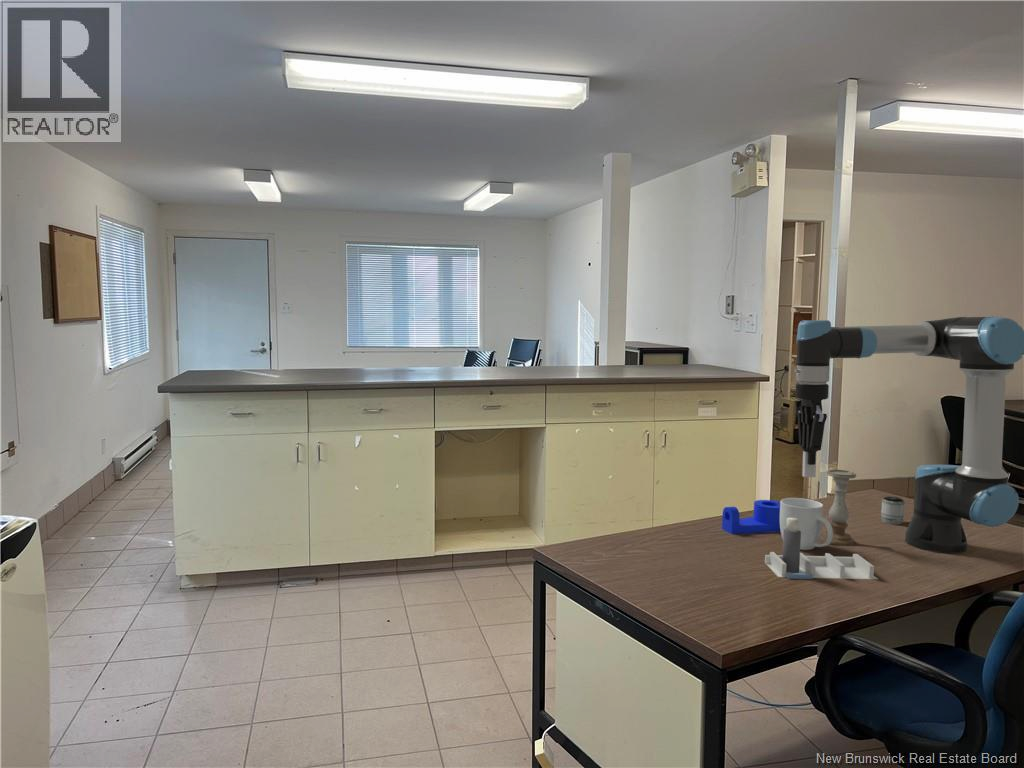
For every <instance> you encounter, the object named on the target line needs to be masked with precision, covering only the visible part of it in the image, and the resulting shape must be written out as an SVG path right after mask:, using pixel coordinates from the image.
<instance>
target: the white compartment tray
mask: <svg viewBox="0 0 1024 768" xmlns="http://www.w3.org/2000/svg"><path fill="white" fill-rule="evenodd" d="M764 556H765V557H764V564H766V566H767V567H768V568H769V569H770V570H771V571H772V572H773V573H774V574H775V575H776V576H777V578H786V579H791V580H792V579H795V580H796V579H797V580H813V579H842V580H843V579H844V580H845V579H847V580H849V579H850V580H852V579H853V580H879V578H877V577H876V576H875V575H874V573H875V565H873V564H872V563H870V561H867V560H866V559H864V558H863V556H860V554H858V553H852V556H833V555H832V554H831V553H829V552H828V553H827V552H825V554H824V555H822V556H821V555H805V554H804V553H803V552H800V565H799V572H797V573H790V572H786V565H787V564H786V563H785V562H784V561H783V560H782V558H783V554H780V555H779V554H778V555H777V554H776V553H775V552H774V551H770V552H769V554H764Z"/></svg>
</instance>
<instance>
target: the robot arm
mask: <svg viewBox="0 0 1024 768" xmlns="http://www.w3.org/2000/svg"><path fill="white" fill-rule="evenodd" d="M910 353H911V354H912V353H913V354H915V355H916V356H919V357H936V358H941V359H950V360H956V361H959V370H960V371H961V372H963V374H964V375H965V391H964V392H965V394H964V412H963V413H964V416H963V417H964V418H963V437H962V438H963V439H962V460H961V461H962V462H961V465H954V464H922V465H919V466H918V467H917V468H916V474H915V477H914V495H913V496H914V498H913V499H914V500H913V515H912V517H911V520H910V521H909V524H908V526H907V527H906V530H905V533H904V541H905V542H906V543H907V544H909V545H911V546H913V547H916V548H918V549H923V550H927V551H931V552H935V553H936V552H937V553H945V554H946V553H947V554H955V553H956V554H957V553H958V554H959V553H964V552H966V551H967V549H968V539H967V536H966V533H965V531H964V527H963V523H962V519H964V520H966V521H969V522H972V523H974V524H977V525H982V526H985V527H992V528H993V527H999V526H1002V525H1004V524H1006V523H1008V522H1009V521H1010V519H1012V518H1013V517H1014V516H1015V514H1016V512H1017V510H1018V507H1019V502H1020V498H1019V494H1018V492H1017V491H1016V489H1015V488H1013V486H1011V485H1010V484H1009V474H1008V472H1006V471H1005V470H1004V469H1003V468H1002V464H1003V463H1002V462H1003V445H1004V444H1003V443H1004V426H1005V422H1004V421H1005V406H1006V405H1005V403H1006V402H1005V401H1006V385H1007V384H1006V383H1007V382H1006V381H1007V376H1008V375H1009V374H1011V372H1013V371H1014V369H1015V363H1017V362H1019V361H1021V359H1022V358H1023V355H1024V329H1023V327H1022V325H1020V324H1018V322H1017V321H1016V320H1014V319H1012V318H1010V317H1009V318H1007V317H1002V316H957V317H950V318H944V319H943V318H942V319H935V320H934V319H933V320H923V321H922V320H920V321H917V322H916V323H915V324H905V325H904V324H903V325H898V324H897V325H896V324H895V325H866V326H864V325H859V326H858V325H857V326H854V325H853V326H851V325H850V326H832V322H831V321H830V320H826V319H825V320H824V319H821V320H820V319H819V320H817V319H815V320H804V319H803V320H801V321H800V322H799V323H798V326H797V334H796V369H794V373H795V375H796V376H795V380H796V382H797V383H795V390H794V391H795V392H794V393H795V394H794V395H795V398H797V399H799V400H801V402H800V406H799V407H796V410H795V411H796V415H797V425H798V426H797V427H798V442H799V443H798V444H799V446H800V447H801V449H802V475H801V476H802V477H803V478H816V476H817V475H816V473H817V452H819V451H821V450H822V444H823V439H824V432H825V424H826V420H827V418H828V415H827V413H823V406H822V401H823V400H827V399H829V390H830V389H829V388H830V386H829V384H828V382H829V381H830V369H831V366H830V362H831V359H863V358H864V359H865V358H870V357H872V356H873V355H875V354H877V355H879V354H910Z"/></svg>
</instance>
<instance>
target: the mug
mask: <svg viewBox="0 0 1024 768" xmlns="http://www.w3.org/2000/svg"><path fill="white" fill-rule="evenodd" d="M779 502H780V530H781V531H780V535H781V539H782V540H783V534H784V529H786V524H787V518H797V519H799V528H798V530H799V531H801V543H800V551H801V550H803V551H806V550H807V551H810V550H813V549H815V548H823V547H827V546H828V545H831V544H830V542H831V541H832V538H833V530H832V526H831V524H830V522H831V521H830V520H828V519H827V518H825V517H824V505H823V503H821V502H819V501H816V500H813V499H808V498H802V497H788V498H787V497H785V498H781V500H780V501H779ZM823 525H825V527H826V530H827V531H826V532H828V537H827V540H826V542H823V543H819V540H820V539H821V535H822V530H823V529H822V528H823Z"/></svg>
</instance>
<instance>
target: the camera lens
mask: <svg viewBox="0 0 1024 768" xmlns="http://www.w3.org/2000/svg"><path fill="white" fill-rule="evenodd" d="M905 503H906V502H905V500H904V499H902V498H901V497H897V496H886V497H885V496H884V497H883V498H882V499H881V512H880V517H881V521H882V523H884V524H888V525H894V526H895V525H896V526H897V525H899V524H900V525H902V524H903V522H904V515H905Z"/></svg>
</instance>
